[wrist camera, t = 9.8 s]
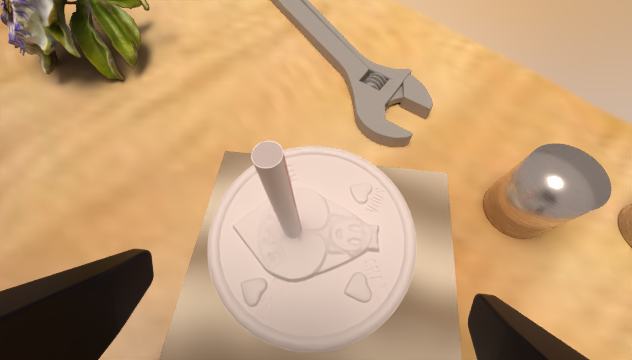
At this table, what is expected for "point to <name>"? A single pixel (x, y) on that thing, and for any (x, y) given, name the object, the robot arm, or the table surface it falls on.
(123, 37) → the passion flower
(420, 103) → the adjustable wrench
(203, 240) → the pad
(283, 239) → the smoothie
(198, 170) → the table surface
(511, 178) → the posts
